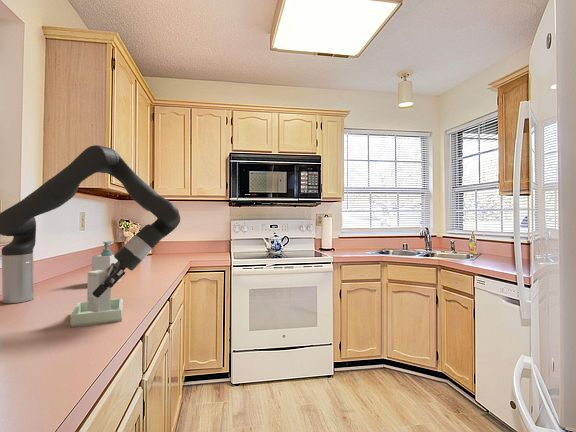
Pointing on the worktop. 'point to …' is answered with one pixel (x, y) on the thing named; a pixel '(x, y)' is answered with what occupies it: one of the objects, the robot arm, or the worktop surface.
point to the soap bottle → (104, 259)
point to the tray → (96, 314)
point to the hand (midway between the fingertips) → (93, 293)
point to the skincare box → (93, 282)
